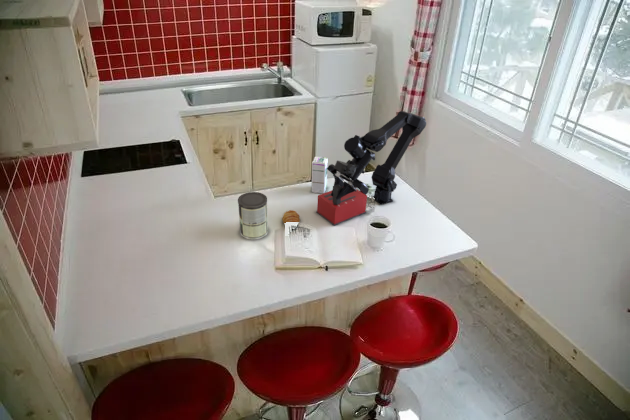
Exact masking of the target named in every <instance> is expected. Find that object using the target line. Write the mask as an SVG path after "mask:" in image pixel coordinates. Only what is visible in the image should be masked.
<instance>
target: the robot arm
mask: <svg viewBox="0 0 630 420" xmlns="http://www.w3.org/2000/svg"><path fill="white" fill-rule="evenodd" d="M426 120H427V119H426V118H425V117H424V116H421V115H418V114H415V113H413V112H412V113H410V112H407V111H405V110H400V111H399V112H398V113H397V115H395V116H393V118H391V119H390V120H389V121H387V122H386V123H385V124H383V125H382V126H381V127H379V128H377V129H372V130H370V131H368V132H367V133H365V134H364V135H362V136H360V135H357V134H355V135H354V137H353V136H352V137H350V138H348V139H347V140H345V142H344V145H343V148H344V150H345V151H346V152H347V154H349V156H351V157H352V159H348V160H347V161H343V160H342V161H341V160H336V161H335V164H333V163H331V164H328V165H327V172H329V173H331V175H332V177H334V178H333V179H334V182H333V186H334V185H337V184H338V185H340V186H341V187H343V188H342V189H341V190H340V192H339V193H338V195H337V196H336V199H337V200H338V199H340V198H342V197H343V196H345V195H347V194H349V193H351V192H354V191H357V190H359V191H360V192H362V193H363V194H365V195H367V194H368V193H369V186H368V185H367V184H365V182H363V181H362V180H360V179H358V178H359V177H360V175H361V174H362V175H363V174H365V172H366V171H365V169H366V168H367V166H368V165H369V163H370V162H371V161H375V160H376V154H375V152H376V153H379V152H380V151H382V150H383V149H384V147H385V146H386V145H387V141H388V140H389V139H390V138H391V137H393V136H394V135H395V134H396V133H397V132H398V131H400V130H401V129H402V130H401V134H400V136H399V137H398V139H397V140H396V142H395V144H394V146H393V147H392V149H391V150H390V153H389V154H388V156H387V158H386V159H385V161H384V163H382V164H377V165H376V167H375V169H374V170H373V172H372V174H371V182H372V186H375V190H374V194H373V196H372V197H374V198H375V200H374V201H375V202H377V203H378V204H379V205H381V206H382V205H385V204H386V205H387V204H390V203H393V202H394V200H393V198H392V193H393V192H395V190H396V189H397V186H398V184H397V182H396V181H395V178H396V168H397V167H398V165H399V164H400V161H401V160H402V158H403V156H404V154H405V153H406V151H407V149H409V146H410V145H411V143H412V141H413V140H414V138H417V137H418V136H420V135H421V133H422V132H423V131H424V129H425V128H426V126H427V121H426ZM356 189H357V190H356ZM331 191H332V193H331V196H332V197H333V189H332V190H331Z"/></svg>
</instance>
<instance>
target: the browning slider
mask: <svg viewBox="0 0 630 420" xmlns="http://www.w3.org/2000/svg"><path fill="white" fill-rule="evenodd" d="M341 189H342V187H341V186H340V185H338V184H337V185H334V184H333V185H332V190H333V203H334V204H336V205H338V204H340V203H341V198H340V199H338V200H337V199H336V196H337V195H338V193H339V192H340V190H341Z"/></svg>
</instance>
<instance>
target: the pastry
mask: <svg viewBox="0 0 630 420" xmlns="http://www.w3.org/2000/svg"><path fill="white" fill-rule="evenodd" d="M300 217H301V216H300V214H299V213H298V212H297V211H296V210H294V209H290V210H287V211H285V212H284V213H283V214H282V217H281V221H282V224H284V223H286V222H300V223H301V219H300Z"/></svg>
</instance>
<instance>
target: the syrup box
mask: <svg viewBox="0 0 630 420" xmlns="http://www.w3.org/2000/svg"><path fill="white" fill-rule="evenodd" d="M328 159H329V158H328V157H326V156H314V158H313V160H312V162H311V193H316V194H323V193H326V190H327V187H328V170H327V168H328V165H329V163H328V161H329V160H328Z"/></svg>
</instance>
